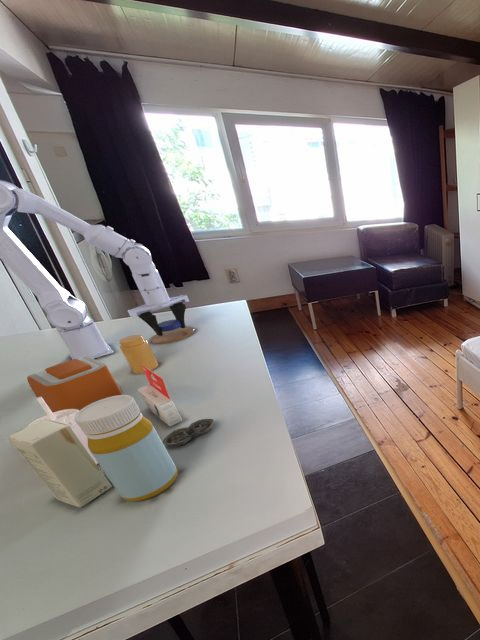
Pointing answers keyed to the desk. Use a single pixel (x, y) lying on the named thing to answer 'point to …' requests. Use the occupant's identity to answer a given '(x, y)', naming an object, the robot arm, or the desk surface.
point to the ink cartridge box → (159, 399)
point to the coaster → (173, 335)
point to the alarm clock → (74, 384)
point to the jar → (138, 353)
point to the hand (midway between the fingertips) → (171, 331)
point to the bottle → (127, 447)
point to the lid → (169, 325)
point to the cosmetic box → (60, 462)
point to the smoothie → (66, 418)
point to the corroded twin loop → (188, 432)
